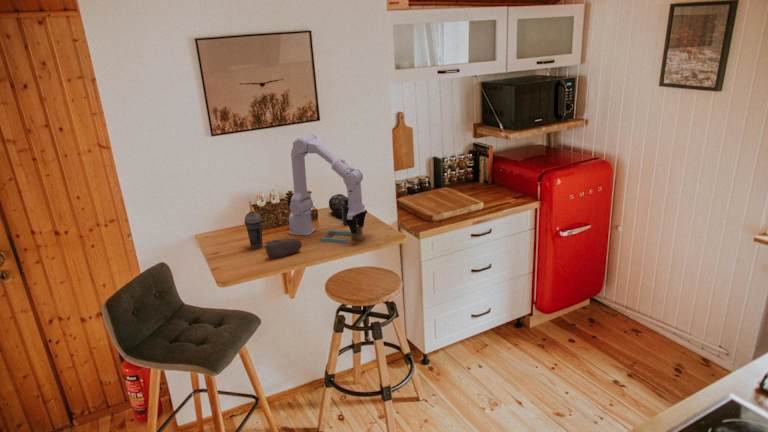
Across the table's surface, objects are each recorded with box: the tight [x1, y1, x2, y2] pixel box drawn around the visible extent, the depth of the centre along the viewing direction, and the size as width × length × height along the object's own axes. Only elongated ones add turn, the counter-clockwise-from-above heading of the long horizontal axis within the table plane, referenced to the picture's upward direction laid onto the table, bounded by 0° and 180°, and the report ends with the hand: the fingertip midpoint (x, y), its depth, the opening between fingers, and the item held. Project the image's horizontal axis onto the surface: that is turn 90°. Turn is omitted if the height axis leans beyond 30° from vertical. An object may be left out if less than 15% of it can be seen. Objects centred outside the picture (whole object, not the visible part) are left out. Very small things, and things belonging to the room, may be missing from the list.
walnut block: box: [351, 226, 364, 242], centre depth 223 cm, size 4×4×5 cm
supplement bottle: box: [342, 196, 356, 226], centre depth 242 cm, size 7×7×12 cm
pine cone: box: [328, 193, 347, 221], centre depth 253 cm, size 10×18×10 cm, turn 35°
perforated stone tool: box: [264, 238, 303, 259], centre depth 211 cm, size 15×5×7 cm, turn 115°
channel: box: [319, 229, 352, 244], centre depth 226 cm, size 12×10×2 cm
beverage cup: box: [244, 200, 263, 250], centre depth 219 cm, size 7×7×20 cm
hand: (357, 230), depth 222 cm, fingers open, 7 cm apart
